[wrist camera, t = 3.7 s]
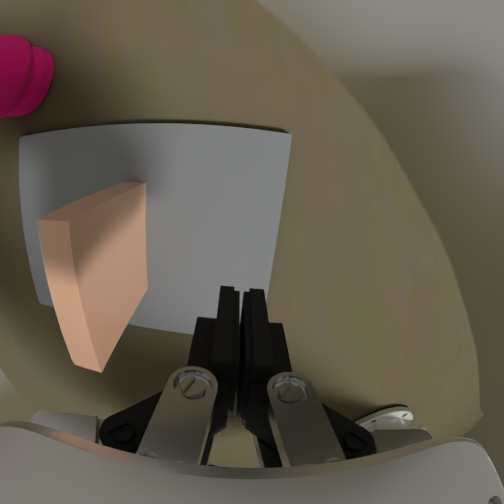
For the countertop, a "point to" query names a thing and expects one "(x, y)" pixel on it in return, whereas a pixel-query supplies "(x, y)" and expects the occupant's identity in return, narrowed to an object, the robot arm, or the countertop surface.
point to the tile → (96, 268)
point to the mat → (169, 206)
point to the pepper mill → (23, 75)
